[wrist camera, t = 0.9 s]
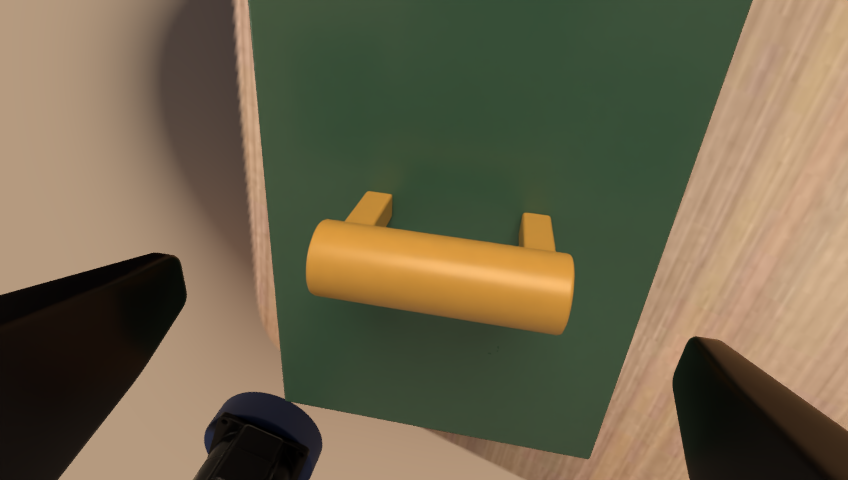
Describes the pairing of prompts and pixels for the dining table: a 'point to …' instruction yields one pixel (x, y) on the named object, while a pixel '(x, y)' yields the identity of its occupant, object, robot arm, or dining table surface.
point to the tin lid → (476, 198)
